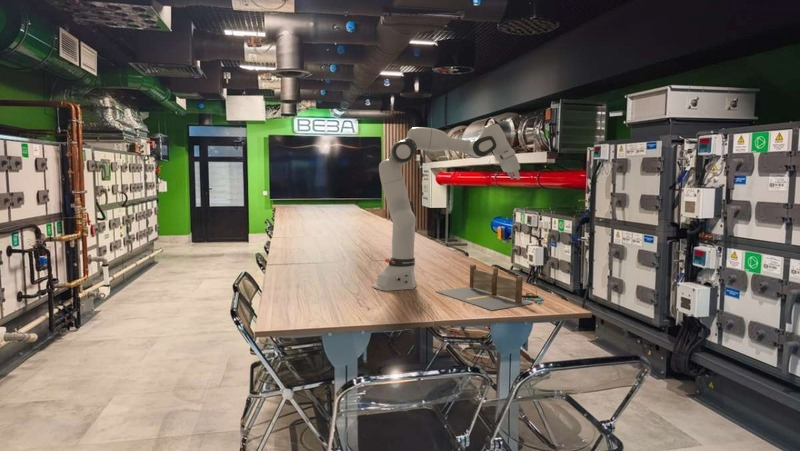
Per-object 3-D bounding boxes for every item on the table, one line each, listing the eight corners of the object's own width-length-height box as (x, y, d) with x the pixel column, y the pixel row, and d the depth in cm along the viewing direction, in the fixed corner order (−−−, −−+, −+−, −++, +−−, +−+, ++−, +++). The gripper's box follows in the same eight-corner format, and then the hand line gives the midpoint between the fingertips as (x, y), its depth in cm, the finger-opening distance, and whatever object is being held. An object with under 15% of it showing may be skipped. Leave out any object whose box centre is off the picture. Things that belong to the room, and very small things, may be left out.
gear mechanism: (527, 305, 228) (548, 305, 228) (527, 293, 228) (548, 293, 228) (515, 294, 248) (535, 294, 248) (516, 283, 248) (535, 283, 248)
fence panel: (490, 293, 243) (491, 269, 242) (469, 287, 255) (470, 264, 254) (493, 293, 244) (494, 269, 243) (472, 286, 257) (473, 264, 255)
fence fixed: (518, 304, 228) (519, 274, 226) (490, 295, 242) (491, 268, 241) (522, 303, 229) (523, 274, 228) (494, 295, 244) (495, 267, 242)
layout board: (491, 311, 216) (491, 309, 216) (435, 292, 249) (435, 291, 249) (532, 303, 229) (533, 302, 229) (474, 286, 262) (474, 285, 261)
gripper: (493, 157, 269) (504, 181, 271) (503, 156, 249) (516, 182, 251) (503, 151, 269) (515, 175, 271) (515, 150, 249) (527, 176, 251)
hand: (515, 178), depth 261 cm, fingers open, 8 cm apart
